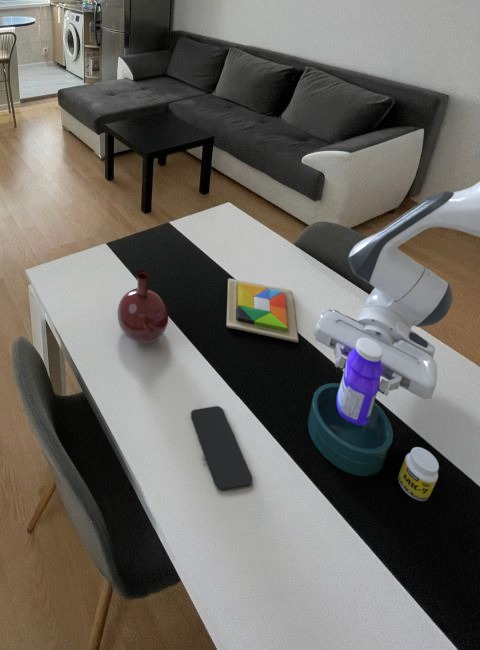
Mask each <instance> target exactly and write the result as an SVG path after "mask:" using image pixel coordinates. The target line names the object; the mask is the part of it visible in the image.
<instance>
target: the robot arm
mask: <svg viewBox="0 0 480 650" xmlns="http://www.w3.org/2000/svg"><path fill="white" fill-rule="evenodd" d="M431 228H443V229H450V230H454V231H459V232H462V233H465V234H469V235H472V236H476V237H479V238H480V180H479V181H478V182H476V183H475V184H473V185H471V186H470V187H467V188H465V189H462V190H457V191H450V190H442V191H438V192H437V193H434V194H432V195H430V196H428V197H427V198H426V199H424V200H422V201H421V202H419V203H418V204H416V205H414V206H413V207H411V208H410V209H409V210H407V211H406V212H404V213H403V214H401V215H400V216H399V217H397V218H395V219H394V220H393V221H391V222H390V223H388V224H387V225H386V226H384V227H382V228H381V229H379V230H378V231H376V232H374V233H373V234H371V235H370V236H368V237H366V238H364V239H362V240H360V241H358V242H357V243H356V244H355V245H354V246H353V247H352V249H351V250H350V251H349V254H348V256H347V260H348V263H349V267H350V269H351V272H352V274H353V275H354V276H356V277H357V278H359V279H360V280H362V281H364V282H366V283H367V284H369V285H371V286H372V287H374V288H373V289H372V291H371V292H370V294H369V295H368V296H367V299H366V302H365V306H364V307H363V308H362V310H361V311H360V313H359V315H358V317H357V318H356V319H355V318H352V317H351V316H348V315H345V314H344V313H341V312H340V311H339V310H336V309H324V310H323V311H322V313H321V314H320V319H318V321H317V322H316V324H315V327H314V331H313V336H314V339H315V341H317V342H318V343H321V344H322V345H324V346H326V347H328V348H330V349H332V350H333V354H334V357H335V362H334V367H336V368H337V369H339V370H340V371H343V372H344V369H345V364H346V361H347V360H348V359H347V357H348V354H349V353H350V352H351V351H353V350H354V349H355V347H356V344H357V341H358V340H359V339H360V338H367V339H371V340H373V341H375V342H376V343H377V344H378V345H379V346H380V347H381V348H382V351H383V354H382V358H381V365H382V367H383V374H382V375H381V376H380V377H382V378H381V379H380V385H379V390H378V392H379V393H381V394H382V395H384V396H386V397H388V395H389V392H392V391H394V390H397V389H399V388H400V387H401V388H402V389H403V390H406V391H408V392H410V393H411V394H413V395H415V396H417V397H419V398H420V399H422V400H430V399H432V397H433V396H434V393H435V390H436V385H437V380H438V365H437V363H436V360H435V358H434V357H435V353H436V347H435V346H434V345H433V344H432V343H431V342H429V341H428V340H426V338H423V337H422V336H420V335H419V334H418V333H416V332H415V331H414V330H413V329H412V328H413V327H416V328H422V327H430V326H433V325H435V324H437V323H439V322H440V321H442V319H444V318H445V316H446V315H447V314H448V312H449V310H450V309H451V306H452V304H453V298H454V297H453V290H452V288H451V285H450V283H449V282H447V281H446V280H445V279H443V278H442V277H441V276H439V275H437V273H435V272H433V271H432V270H431V269H429V268H428V267H425V266H424V265H422V264H420V263H419V262H418V261H416V260H414V258H412V257H410V256H409V255H408V254H406V253H405V252H403V251H402V250H400V249H399V248H398V247H400V246H401V245H403V244H404V243H406V242H407V241H409V240H411V239H413V238H414V237H416V236H417V235H418V234H420V233H422V232H424V231H425V230H427V229H431ZM345 357H346V358H345ZM383 378H384V379H383ZM385 379H386V380H385Z"/></svg>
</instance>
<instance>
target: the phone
mask: <svg viewBox="0 0 480 650" xmlns="http://www.w3.org/2000/svg"><path fill="white" fill-rule="evenodd" d="M226 415H227V414H226V413H225V411H224V409H223V408H222V407H221V406H218V405H215V406H209V407H203V408H197V409H193V410H191V412H190V418H191V421H193V422H192V424H193V427H194V430H195V433H196V435H198V436H197V438H198V442H199V443H200V447H201V446H202V447H201V449H203V450H202V452H203V455H204V458H205V460H206V463H207V466H208V469H209V472H210V475H211V477H212V480H213V483H214V486H215V487H216V488H217V490H218V491H221V492H224V491H229V490H236V489H242V488H247V487H250V486H252V484H253V476H252V473H251V471H250V469H249V466H248V464H247V461H246V459H245V457H244V455H243V453H242V449H241V447H240V445H239V443H238V441H237V438H236V436H235V434H234V432H233V429H232V427H231V425H230V422H229V420H228V418H227V416H226Z"/></svg>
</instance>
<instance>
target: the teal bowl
mask: <svg viewBox="0 0 480 650" xmlns="http://www.w3.org/2000/svg"><path fill="white" fill-rule="evenodd" d="M340 384H341V383H334V382H333V383H326V384H324V385H320V386H319V387H318V388H317V389H316V391H314V393H313V397H312V400H311V405H310V409H309V415H308V418H307V428H308V433H309V437H310V438H311V440H312V443H313V444H314V445H315V448H316V449H317V450H318V452H319V453H320V454H321V455H322V456H323V457H324V458H325V459H326V460H327V461H328V462H329V463H331V464H332V465H333V466H335V467H336V468H338V469H339V470H341V471H342V472H346V473H347V474H351V475H353V476H359V477H369V476H370V477H371V476H373V475H374V476H375V475H376V474H377V473H379V472H380V471H381V470H382V469H383V467H384V465H385V464H386V461H387V458H388V455H389V453H390V449H391V446H392V444H393V438H394V437H393V436H394V431H393V428H392V424H391V421H390V420H389V418H388V416H387V415H386V413H385V411H384V409H382V408H381V406H379V405H378V404H377V402H376V401H374V404H373V408H372V411H371V415H370V419H369V421H368V423H367V424H365V425H363V426H359V425H356V424H353V423H351V422H349V421H347V420H345V419H344V418H343V417H341V415H340V413H339V411H338V408H337V393H338V390H339V388H340Z"/></svg>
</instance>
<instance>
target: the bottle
mask: <svg viewBox="0 0 480 650" xmlns="http://www.w3.org/2000/svg"><path fill="white" fill-rule="evenodd" d="M382 354H383V351H382V348H381V347H380V346H379V345H378V344H377V343H376V342H375V341H373V340H371V339H367V338H360V339H359V340H358V341H357V344H356V347H355V349H354V350H353V351H351V352H350V353H349V354H348V357H346V359H347V361H346V364H345V367H344V369H343V373H342V376H341V381H340V383H339V384H340V388H339V390H338V393H337V408H338V411H339V413H340V415H341V417H343V418H344V419H345V420H347V421H349V422H351V423H353V424H356V425H359V426H363V425H365V424H367V423H368V421H369V419H370V415H371V411H372V408H373V404H374V401H375V400H376V398H377V394H378V392H379V391H378V390H379V386H380V383H381V377H382V376H381V375H382V374H383V367H382V365H381V358H382ZM375 402H376V401H375Z"/></svg>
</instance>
